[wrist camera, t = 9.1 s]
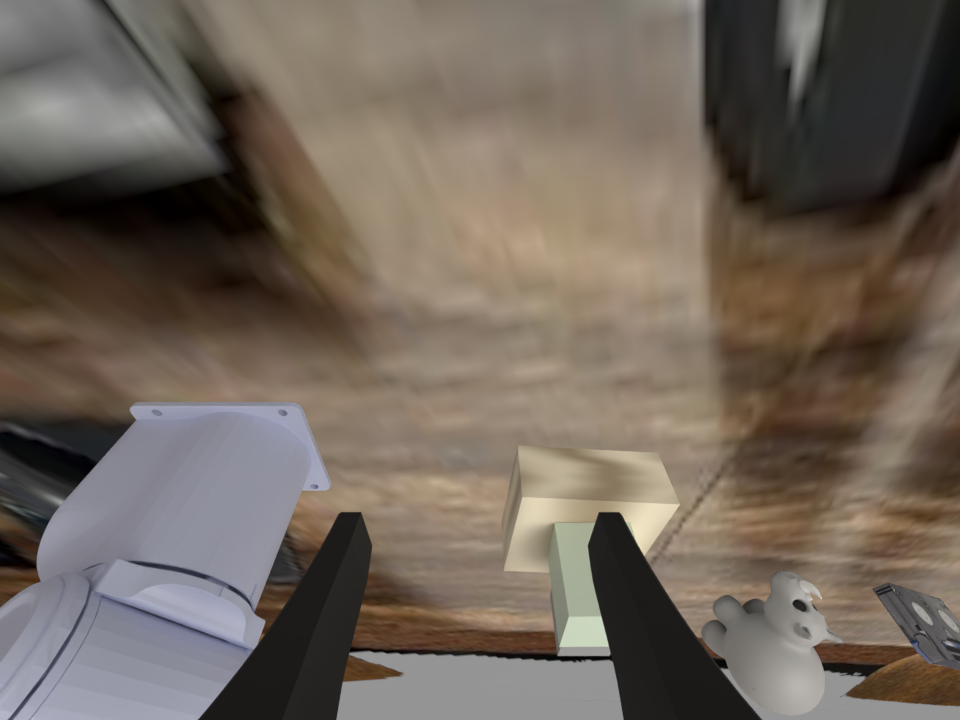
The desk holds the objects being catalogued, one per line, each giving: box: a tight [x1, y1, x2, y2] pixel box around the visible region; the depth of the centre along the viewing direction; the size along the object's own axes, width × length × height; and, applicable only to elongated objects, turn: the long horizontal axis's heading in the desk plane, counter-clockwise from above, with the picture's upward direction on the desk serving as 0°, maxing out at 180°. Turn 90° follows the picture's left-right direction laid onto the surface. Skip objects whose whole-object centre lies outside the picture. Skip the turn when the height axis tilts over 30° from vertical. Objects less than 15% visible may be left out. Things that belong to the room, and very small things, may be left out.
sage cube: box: [548, 522, 636, 647], centre depth 24 cm, size 4×4×5 cm
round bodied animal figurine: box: [701, 570, 843, 716], centre depth 36 cm, size 7×12×8 cm, turn 163°
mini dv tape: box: [873, 583, 960, 670], centre depth 37 cm, size 8×2×6 cm, turn 64°
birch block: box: [501, 446, 680, 573], centre depth 27 cm, size 9×9×4 cm
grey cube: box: [550, 589, 611, 656], centre depth 36 cm, size 4×4×5 cm
